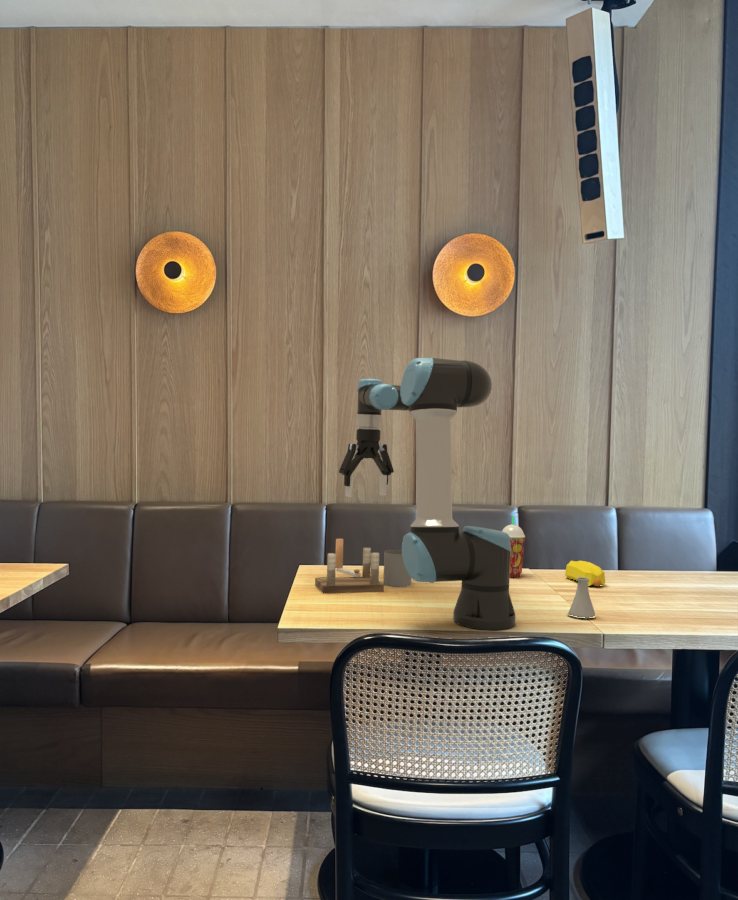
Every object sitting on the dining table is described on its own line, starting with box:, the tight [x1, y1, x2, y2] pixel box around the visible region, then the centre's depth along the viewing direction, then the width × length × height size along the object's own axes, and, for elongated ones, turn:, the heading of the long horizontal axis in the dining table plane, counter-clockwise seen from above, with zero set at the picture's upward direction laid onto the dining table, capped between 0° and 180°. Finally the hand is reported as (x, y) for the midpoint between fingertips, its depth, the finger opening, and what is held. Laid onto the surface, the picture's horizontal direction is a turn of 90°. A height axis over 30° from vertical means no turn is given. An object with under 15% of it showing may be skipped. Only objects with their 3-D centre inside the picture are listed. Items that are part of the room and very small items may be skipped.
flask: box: [567, 577, 596, 618], centre depth 179 cm, size 7×7×10 cm
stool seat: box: [314, 547, 385, 594], centre depth 205 cm, size 12×18×11 cm
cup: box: [383, 549, 412, 588], centre depth 212 cm, size 8×8×10 cm
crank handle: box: [335, 538, 362, 577], centre depth 214 cm, size 2×12×10 cm, turn 35°
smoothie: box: [501, 515, 526, 578], centre depth 230 cm, size 8×8×20 cm
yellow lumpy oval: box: [564, 560, 606, 587], centre depth 224 cm, size 18×7×8 cm
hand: (366, 496), depth 218 cm, fingers open, 13 cm apart
